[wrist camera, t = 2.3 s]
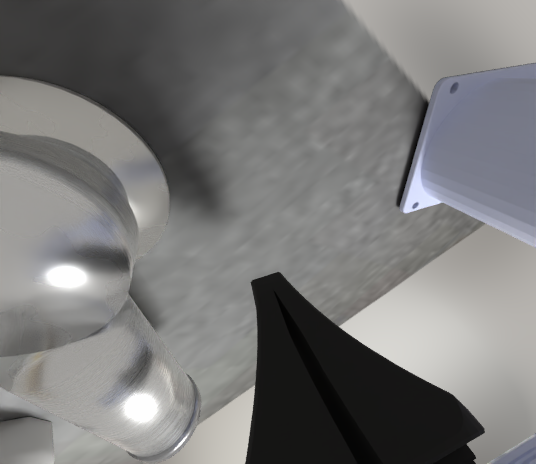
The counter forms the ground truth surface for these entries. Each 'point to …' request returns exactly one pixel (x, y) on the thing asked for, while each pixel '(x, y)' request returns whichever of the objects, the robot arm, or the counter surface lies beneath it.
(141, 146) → the duct stub
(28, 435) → the salt shaker
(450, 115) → the robot arm
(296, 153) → the counter surface
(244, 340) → the counter surface
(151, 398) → the elbow
